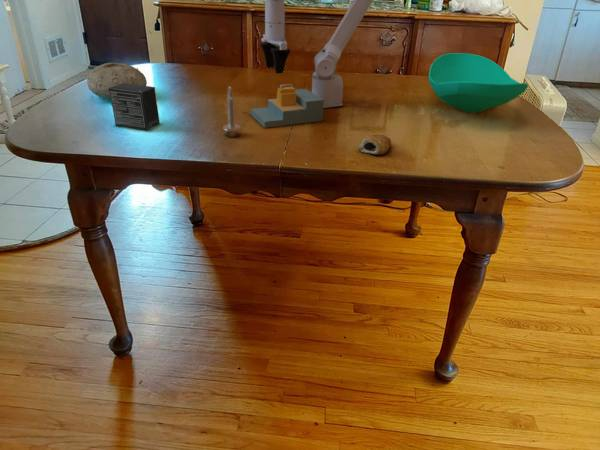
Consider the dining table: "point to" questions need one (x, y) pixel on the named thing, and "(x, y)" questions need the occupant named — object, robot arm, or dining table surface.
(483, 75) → the table top decor
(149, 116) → the small box
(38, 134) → the dining table surface
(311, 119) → the step rack
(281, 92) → the block with handle
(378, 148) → the pastry
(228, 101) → the screw
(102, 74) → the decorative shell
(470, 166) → the dining table surface
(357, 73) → the dining table surface
